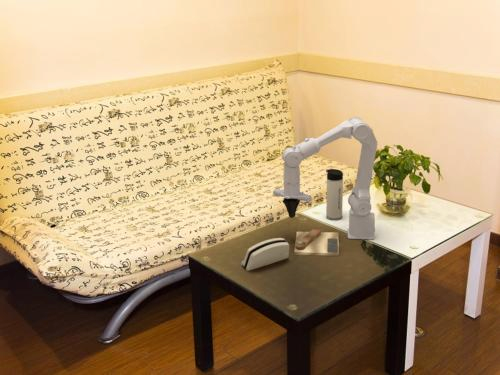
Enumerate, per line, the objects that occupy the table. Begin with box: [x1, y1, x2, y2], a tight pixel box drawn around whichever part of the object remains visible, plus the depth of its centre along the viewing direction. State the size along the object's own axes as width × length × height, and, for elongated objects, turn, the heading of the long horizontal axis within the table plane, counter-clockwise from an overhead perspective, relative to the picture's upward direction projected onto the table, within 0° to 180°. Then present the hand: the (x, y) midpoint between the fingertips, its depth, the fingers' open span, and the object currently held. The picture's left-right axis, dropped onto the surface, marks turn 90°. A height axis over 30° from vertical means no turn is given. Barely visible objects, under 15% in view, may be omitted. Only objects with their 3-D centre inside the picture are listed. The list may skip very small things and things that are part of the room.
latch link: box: [294, 228, 322, 250], centre depth 212 cm, size 15×4×2 cm, turn 148°
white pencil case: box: [240, 237, 290, 272], centre depth 199 cm, size 17×5×10 cm, turn 121°
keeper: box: [327, 238, 338, 253], centre depth 206 cm, size 4×5×3 cm
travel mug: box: [325, 168, 344, 221], centre depth 231 cm, size 6×7×20 cm
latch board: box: [293, 231, 340, 257], centre depth 212 cm, size 16×17×1 cm
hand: (292, 216), depth 213 cm, fingers closed
